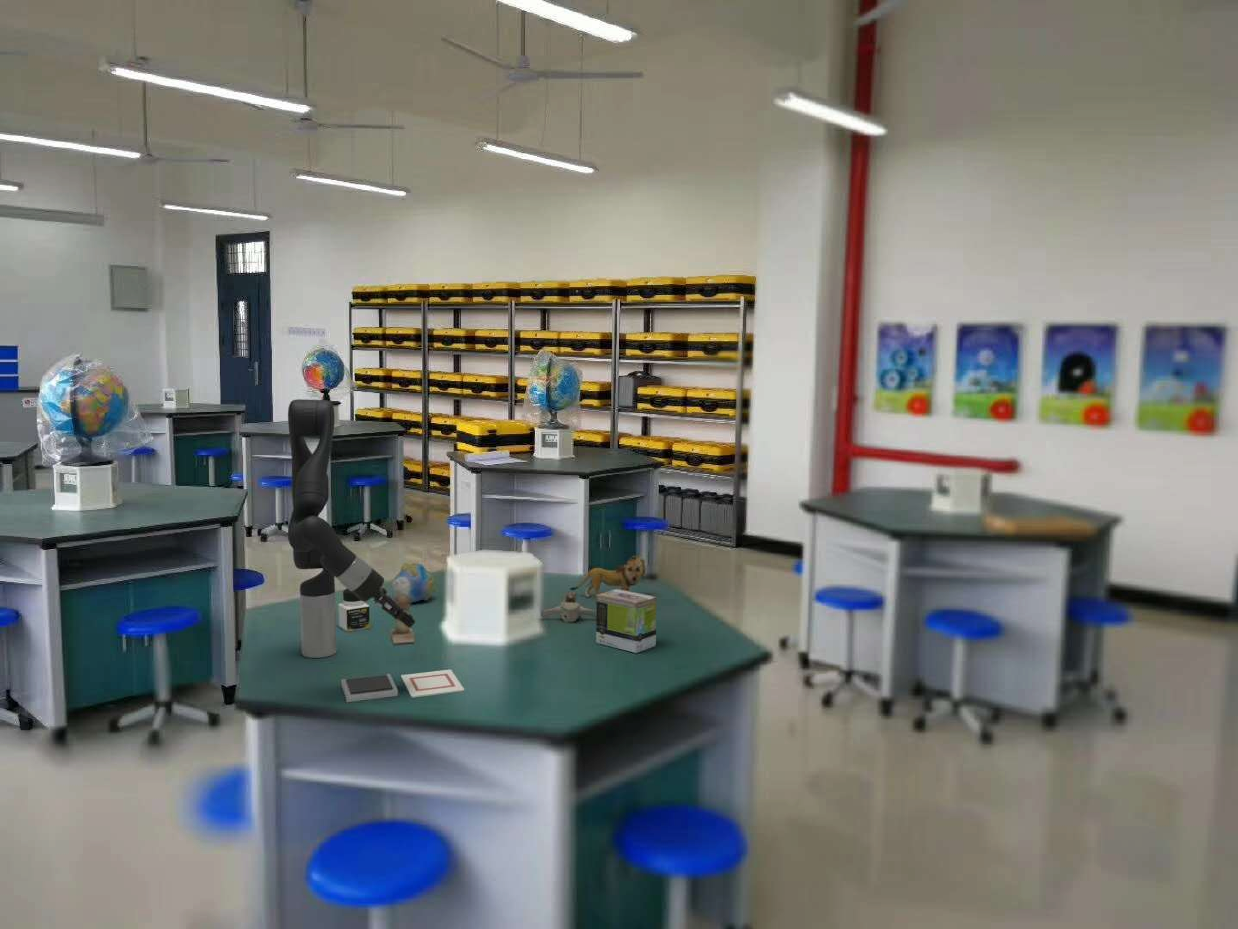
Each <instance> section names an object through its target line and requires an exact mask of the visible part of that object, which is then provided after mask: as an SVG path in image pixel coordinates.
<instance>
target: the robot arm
mask: <svg viewBox="0 0 1238 929" xmlns="http://www.w3.org/2000/svg"><path fill="white" fill-rule="evenodd" d="M335 415H336V414H335V408H334V404H333V403H332V401H330V400H326V399H325V400H324V399H300V398H299V399H298V398H297V399H293V400H292V401H290V402H289V404H288V409H287V421H288V424H287V425H288V432H289V434H288V435H289V442H290V450H291V451H290V454H291V496H292V497H291V498H292V513H291V517H290V520H289V524H288V528H287V540H288V543H289V545H290V547H291V548H292V556H293V563H294V566H295V567H296V568H297V569H299V570H316V569H322V570H321V571H320V572H319V573H318V574H317V575H315V576H313V577H310V578H309V579H306V580H304V581H302V582H301V583H300V585H299V598H300V599H299V604H300V632H301V634H300V635H301V654H302V656H303V657H305V658H309V659H310V658H311V659H319V658H321V659H322V658H327V657H330V656H333V655H335V654H336V653H337V649H338V648H337V617H336V609H337V608H336V584H335V582H336V581H335V578H336V579H337V580H338V582H340V584H341V585H342V586H343V587H345V589H348V590H350V591H351V592H352V593H353V594H354V595H355V596H357V597H358V598H359V599H360V600H361V601H363V602H364V603H366V602H367V601H370V599H372V598H373V601H374V603H375V604H376V606H378V607H379V608H381V609H382V610H383V611H385V612H386V613H387V614H388V615H389V616H392V617H393V618H394V619H395V620H396V619H399V620H400V621H402V622H403V623H404V624H405V625H406V626H407V627H409V628H412V626H413V625H414V624H416V620H415V619H414V617H413V615H412V614H410V613H409V615H408V614H407V613H406V612H405V611H404V610H403V609H402V608H400V607H399V606H398V605H399V603H398V602H397V601H396V600H395V599H396V598H395V596H394V595H392V594H391V593H390V591H389V590H388V589H387V588H385V587H383V585H384V583H385V578H384V577H383V576H382V575H381V574H380V573H379V572H377V571H376V570H375V569H374V568H373V567H372V566H370V565H369V564H368V563H367V562H366V561H365V560H364V559H362V558H361V557H359V556H358V555H356V554H355V553H354V552H353V551H351V549H350V548H348V547H347V546H346V545H344V543H343V541H342V540H341V538H340V537H339V535H338V534H337V533H336V531H335V529H333V527H332V526H331V524H330V523H329V522H327V521H326V520H325V519H323V518H322V517H321V516H320V514H321V513H322V512H323V510H324V509H325V507H326V505H327V503H328V500H329V497H330V496H329V495H330V491H329V490H330V489H329V488H330V485H329V483H330V482H329V481H330V480H329V475H328V468H329V464H330V463H329V462H330V457H331V453H332V452H331V451H332V445H333V437H334V429H335ZM305 437H319V440H318V443H317V445H316V448H315V449H314V451H311V449H309V447H308V445H307V443H306V440H305ZM394 603H395V604H394ZM396 610H399V611H398V612H397V613H396Z"/></svg>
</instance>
